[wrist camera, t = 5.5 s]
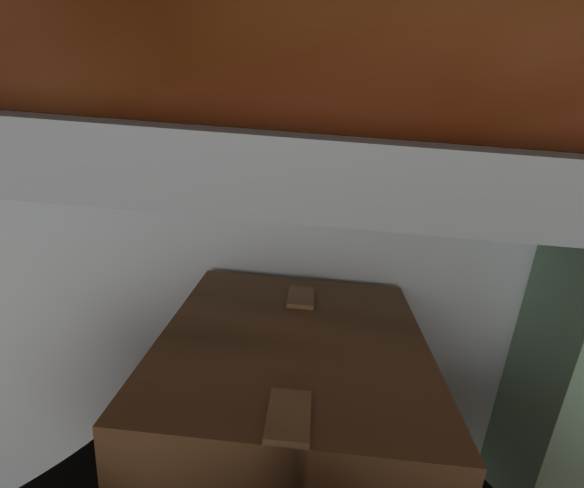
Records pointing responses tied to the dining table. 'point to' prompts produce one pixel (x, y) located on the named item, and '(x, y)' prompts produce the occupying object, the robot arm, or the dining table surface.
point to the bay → (288, 267)
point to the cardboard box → (287, 395)
